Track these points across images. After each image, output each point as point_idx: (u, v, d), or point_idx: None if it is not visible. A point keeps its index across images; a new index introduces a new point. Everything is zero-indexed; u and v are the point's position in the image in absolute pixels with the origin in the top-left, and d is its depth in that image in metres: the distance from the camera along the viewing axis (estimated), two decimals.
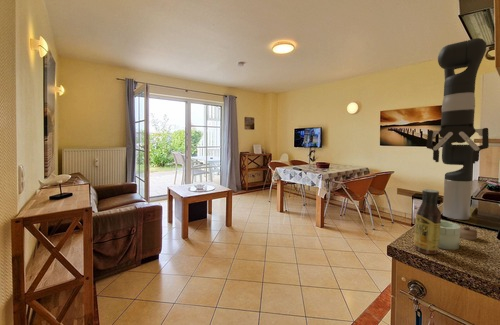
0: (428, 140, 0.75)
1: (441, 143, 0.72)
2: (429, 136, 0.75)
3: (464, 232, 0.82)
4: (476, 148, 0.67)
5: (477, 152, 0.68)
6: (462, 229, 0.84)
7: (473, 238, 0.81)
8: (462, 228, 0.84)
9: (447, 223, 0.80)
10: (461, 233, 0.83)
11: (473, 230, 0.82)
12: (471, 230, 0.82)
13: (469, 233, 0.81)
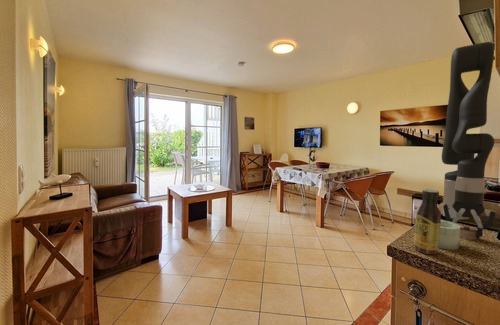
0: (446, 214, 0.86)
1: (457, 217, 0.84)
2: (445, 210, 0.86)
3: (464, 232, 0.82)
4: (480, 226, 0.80)
5: (481, 229, 0.80)
6: (462, 229, 0.84)
7: (473, 238, 0.81)
8: (462, 228, 0.84)
9: (447, 223, 0.80)
10: (461, 233, 0.83)
11: (473, 230, 0.82)
12: (471, 230, 0.82)
13: (469, 233, 0.81)
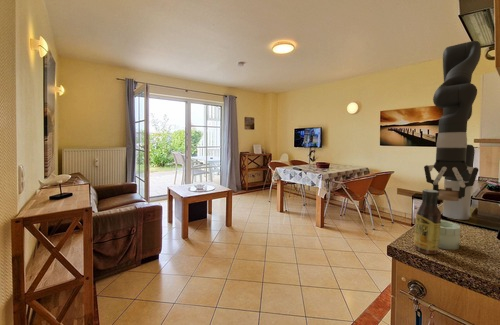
0: (426, 175, 0.80)
1: (439, 178, 0.77)
2: (426, 171, 0.80)
3: (446, 192, 0.75)
4: (462, 185, 0.74)
5: (463, 189, 0.74)
6: (444, 190, 0.77)
7: (455, 198, 0.74)
8: (444, 189, 0.78)
9: (447, 223, 0.80)
10: (442, 194, 0.76)
11: (455, 190, 0.76)
12: (453, 190, 0.76)
13: (451, 193, 0.75)
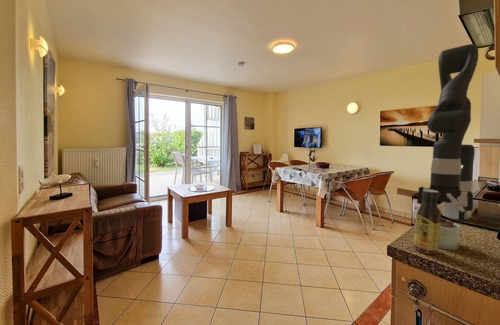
0: (419, 196, 0.81)
1: None
2: (420, 193, 0.81)
3: None
4: (462, 209, 0.73)
5: (463, 213, 0.74)
6: None
7: None
8: None
9: None
10: None
11: (449, 222, 0.77)
12: (447, 222, 0.77)
13: (444, 225, 0.76)
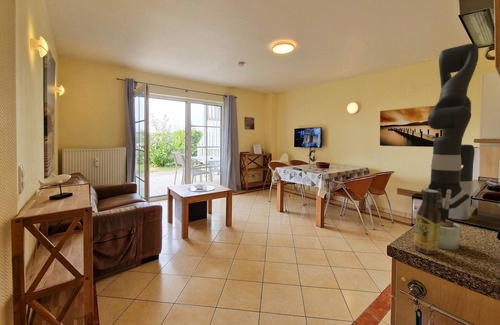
0: None
1: (440, 200, 0.77)
2: None
3: None
4: (446, 207, 0.76)
5: (447, 210, 0.76)
6: None
7: None
8: None
9: None
10: None
11: (449, 222, 0.77)
12: (447, 222, 0.77)
13: (444, 225, 0.76)
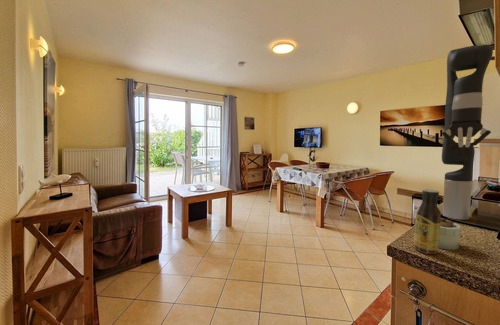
0: (449, 139, 0.82)
1: (461, 139, 0.79)
2: (446, 136, 0.82)
3: None
4: (467, 145, 0.79)
5: (468, 148, 0.79)
6: None
7: None
8: None
9: None
10: None
11: (449, 222, 0.77)
12: (447, 222, 0.77)
13: (444, 225, 0.76)
